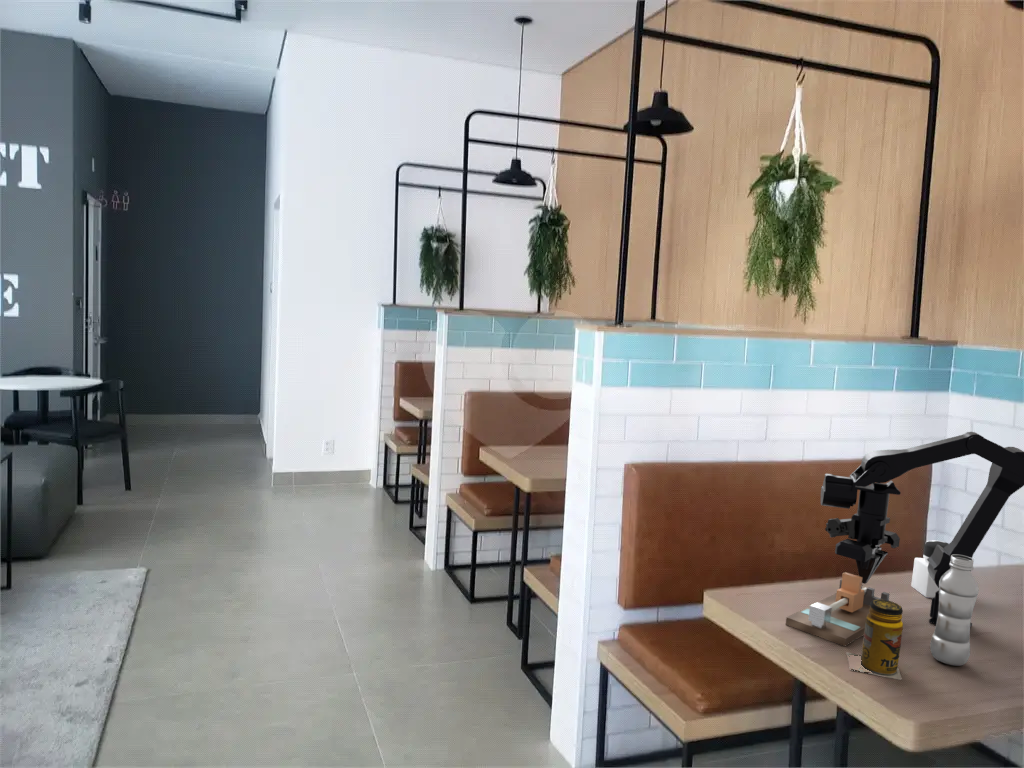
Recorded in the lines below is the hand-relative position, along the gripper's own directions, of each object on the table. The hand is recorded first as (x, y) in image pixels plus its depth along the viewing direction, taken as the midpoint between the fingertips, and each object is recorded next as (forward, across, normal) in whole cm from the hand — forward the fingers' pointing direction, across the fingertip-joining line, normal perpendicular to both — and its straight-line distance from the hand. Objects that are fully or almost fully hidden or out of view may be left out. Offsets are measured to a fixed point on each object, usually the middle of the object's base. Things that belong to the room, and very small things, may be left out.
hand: (863, 582), depth 169 cm
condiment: (+6, +25, +13) cm, 29 cm away
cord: (+3, +8, 0) cm, 9 cm away
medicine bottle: (+6, -26, +6) cm, 27 cm away
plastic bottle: (+6, +11, +21) cm, 25 cm away
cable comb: (+5, -1, 0) cm, 5 cm away
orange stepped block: (+4, +6, 0) cm, 7 cm away
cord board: (+6, +10, 0) cm, 11 cm away
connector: (+5, +20, 0) cm, 20 cm away
